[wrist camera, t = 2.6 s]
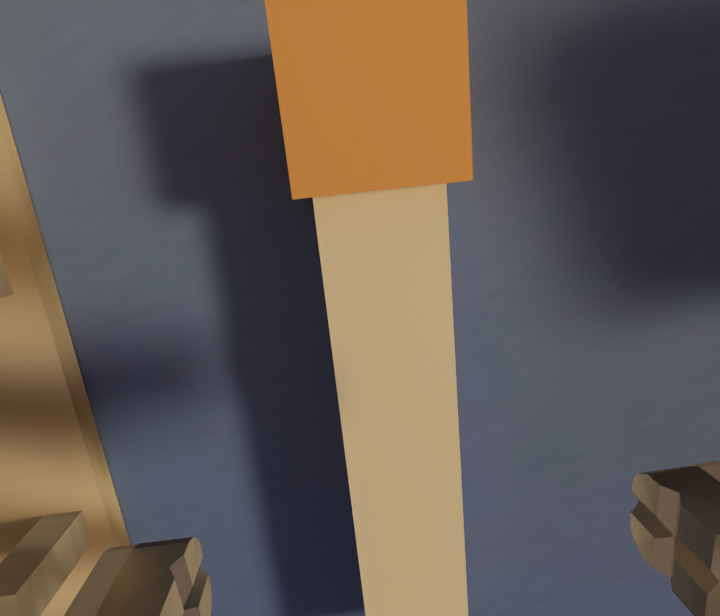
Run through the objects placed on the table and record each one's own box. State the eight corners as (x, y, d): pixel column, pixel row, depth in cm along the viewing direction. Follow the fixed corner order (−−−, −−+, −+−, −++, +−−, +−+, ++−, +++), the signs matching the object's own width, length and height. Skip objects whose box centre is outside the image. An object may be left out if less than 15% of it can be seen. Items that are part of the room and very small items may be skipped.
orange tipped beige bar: (457, 595, 22) (491, 707, 17) (358, 608, 22) (365, 725, 17) (425, 39, 16) (465, -30, 11) (285, 53, 16) (262, -11, 11)
